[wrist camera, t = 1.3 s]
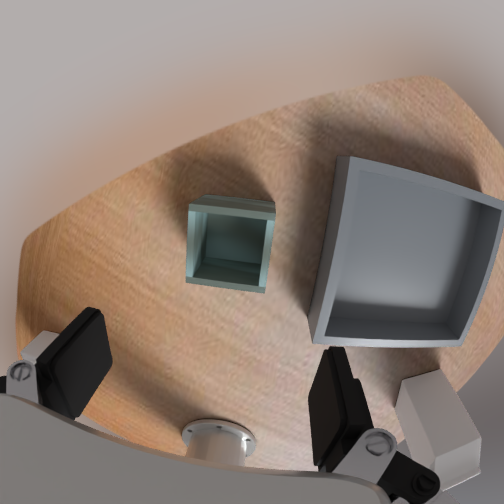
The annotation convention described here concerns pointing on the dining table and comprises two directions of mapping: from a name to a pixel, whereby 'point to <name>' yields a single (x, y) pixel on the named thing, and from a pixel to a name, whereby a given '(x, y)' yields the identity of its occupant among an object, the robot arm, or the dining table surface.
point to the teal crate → (229, 242)
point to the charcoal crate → (402, 258)
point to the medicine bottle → (38, 346)
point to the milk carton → (438, 428)
